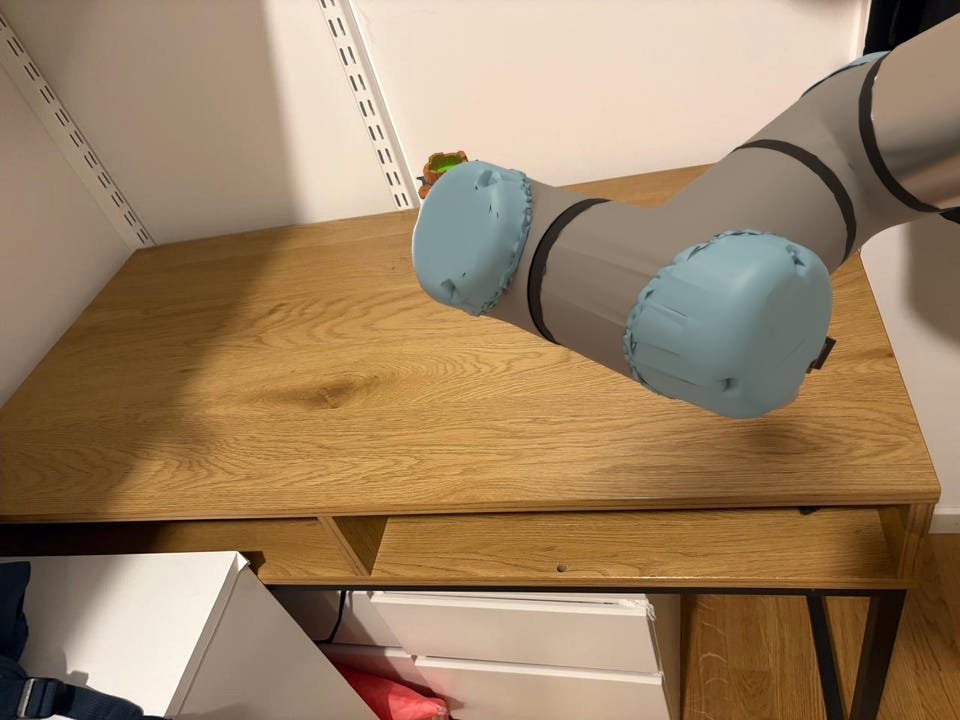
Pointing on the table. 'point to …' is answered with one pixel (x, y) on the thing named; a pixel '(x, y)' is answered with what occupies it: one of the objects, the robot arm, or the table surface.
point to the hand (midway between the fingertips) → (802, 342)
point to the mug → (438, 169)
